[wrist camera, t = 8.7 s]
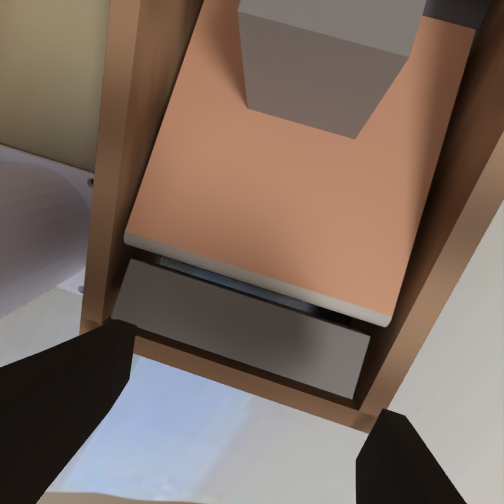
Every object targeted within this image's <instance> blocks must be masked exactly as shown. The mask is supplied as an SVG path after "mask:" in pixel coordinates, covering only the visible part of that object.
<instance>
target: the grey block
mask: <svg viewBox="0 0 504 504" xmlns="http://www.w3.org/2000/svg"><path fill="white" fill-rule="evenodd" d="M426 1H427V0H241V2H240V5H239V7H238V10H237V12H238V22H239V31H240V40H241V50H242V59H243V69H244V78H245V88H246V97H247V107H248V109H251V110H254V111H257V112H261V113H264V114H268V115H271V116H275V117H278V118H282V119H285V120H289V121H292V122H296V123H299V124H303V125H306V126H310V127H313V128H317V129H320V130H324V131H327V132H330V133H334V134H337V135H341V136H344V137H348V138H351V139H356V137H357V136H358V134H359V133H360V131H361V130H362V128H363V127H364V125H365V124H366V122H367V121H368V119H369V118H370V116H371V115H372V113H373V112H374V110H375V109H376V107H377V106H378V104H379V103H380V101H381V100H382V98H383V97H384V95H385V94H386V92H387V91H388V89H389V88H390V86H391V85H392V83H393V82H394V80H395V79H396V77H397V75H398V74H399V72H400V71H401V69H402V68H403V66H404V65H405V63H406V62H407V60H408V59H409V57H410V54H411V51H412V47H413V44H414V41H415V37H416V34H417V31H418V27H419V24H420V21H421V17H422V14H423V11H424V8H425V4H426Z"/></svg>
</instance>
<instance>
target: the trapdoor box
mask: <svg viewBox="0 0 504 504" xmlns="http://www.w3.org/2000/svg"><path fill="white" fill-rule="evenodd" d="M203 2H204V0H111V2H110V12H109V23H108V34H107V44H106V55H105V66H104V76H103V87H102V98H101V108H100V119H99V130H98V140H97V151H96V162H95V172H94V183H93V194H92V204H91V215H90V226H89V236H88V247H87V258H86V268H85V279H84V290H83V300H82V311H81V322H80V332H79V335H82V334H84V333H86V332H89V331H91V330H93V329H95V328H98V327H100V326H102V325H104V324H107V323H109V322H111V321H114V320H115V319H112V318H111V315H112V312H113V309H114V306H115V303H116V300H117V297H118V294H119V292H120V289H121V286H122V283H123V280H124V277H125V274H126V271H127V268H128V265H129V262H130V259H136V260H144V261H150V262H153V263H156V264H160V258H161V255H158V254H155V253H152V252H149V251H146V250H143V249H140V248H137V247H134V246H130V245H127V244H125V243H124V233H125V230H126V227H127V224H128V221H129V218H130V215H131V212H132V209H133V207H134V204H135V201H136V198H137V195H138V192H139V189H140V186H141V183H142V180H143V177H144V174H145V171H146V169H147V166H148V163H149V160H150V157H151V154H152V151H153V148H154V145H155V142H156V139H157V136H158V133H159V131H160V128H161V125H162V122H163V119H164V116H165V113H166V110H167V107H168V104H169V101H170V98H171V96H172V93H173V90H174V87H175V84H176V81H177V78H178V75H179V72H180V69H181V66H182V63H183V60H184V58H185V55H186V52H187V49H188V46H189V43H190V40H191V37H192V34H193V31H194V28H195V25H196V22H197V20H198V17H199V14H200V11H201V8H202V5H203ZM503 200H504V0H493V2H492V5H491V7H490V9H489V11H488V14H487V16H486V18H485V20H484V22H483V25H482V27H481V29H480V31H479V34H478V36H477V38H476V40H475V43H474V45H473V47H472V49H471V52H470V54H469V56H468V58H467V62H466V65H465V69H464V72H463V76H462V79H461V82H460V86H459V89H458V93H457V96H456V100H455V103H454V106H453V110H452V113H451V117H450V120H449V124H448V127H447V130H446V134H445V137H444V141H443V144H442V148H441V151H440V154H439V158H438V161H437V165H436V168H435V172H434V175H433V178H432V182H431V185H430V189H429V192H428V196H427V199H426V202H425V206H424V209H423V213H422V216H421V220H420V223H419V226H418V230H417V233H416V237H415V240H414V244H413V247H412V250H411V254H410V257H409V261H408V264H407V268H406V271H405V274H404V278H403V281H402V285H401V288H400V292H399V295H398V298H397V302H396V305H395V309H394V312H393V316H392V319H391V321H390V323H389V324H388V326H387V327H382V326H379V325H376V324H373V323H370V322H367V321H364V320H360V319H357V318H354V317H352V319H351V321H350V323H349V326H351V327H354V328H357V329H358V330H360V331H362V332H363V333H365V334H367V335H369V336H370V340H369V343H368V347H367V350H366V353H365V357H364V360H363V364H362V367H361V370H360V374H359V377H358V381H357V384H356V387H355V391H354V394H353V398H352V399H349V398H346V397H343V396H340V395H337V394H334V393H331V392H328V391H325V390H322V389H319V388H316V387H313V386H310V385H307V384H304V383H301V382H298V381H296V380H293V379H290V378H287V377H284V376H281V375H278V374H275V373H272V372H269V371H266V370H263V369H260V368H257V367H254V366H251V365H248V364H245V363H242V362H239V361H236V360H233V359H230V358H227V357H224V356H221V355H218V354H215V353H212V352H209V351H207V350H204V349H201V348H198V347H195V346H192V345H189V344H186V343H183V342H180V341H177V340H174V339H171V338H168V337H165V336H162V335H159V334H156V333H153V332H150V331H147V330H144V329H141V328H138V327H137V329H136V336H135V343H134V350H133V353H134V354H137V355H140V356H143V357H146V358H149V359H152V360H155V361H158V362H160V363H163V364H166V365H169V366H172V367H175V368H178V369H181V370H184V371H187V372H190V373H193V374H196V375H198V376H201V377H204V378H207V379H210V380H213V381H216V382H219V383H222V384H225V385H228V386H231V387H234V388H236V389H239V390H242V391H245V392H248V393H251V394H254V395H257V396H260V397H263V398H266V399H269V400H271V401H274V402H277V403H280V404H283V405H286V406H289V407H292V408H295V409H298V410H301V411H304V412H307V413H309V414H312V415H315V416H318V417H321V418H324V419H327V420H330V421H333V422H336V423H339V424H342V425H345V426H347V427H350V428H353V429H356V430H359V431H362V432H365V433H368V434H370V432H371V430H372V428H373V426H374V424H375V422H376V420H377V418H378V416H379V414H380V412H381V410H382V409H383V408H384V409H387V408H388V406H389V404H390V403H391V401H392V399H393V397H394V395H395V394H396V392H397V390H398V388H399V386H400V385H401V383H402V381H403V379H404V377H405V376H406V374H407V372H408V370H409V368H410V367H411V365H412V363H413V361H414V359H415V358H416V356H417V354H418V352H419V350H420V349H421V347H422V345H423V343H424V342H425V340H426V338H427V336H428V334H429V333H430V331H431V329H432V327H433V325H434V324H435V322H436V320H437V318H438V316H439V315H440V313H441V311H442V309H443V307H444V306H445V304H446V302H447V300H448V298H449V297H450V295H451V293H452V291H453V289H454V288H455V286H456V284H457V282H458V280H459V279H460V277H461V275H462V273H463V271H464V270H465V268H466V266H467V264H468V262H469V261H470V259H471V257H472V255H473V253H474V252H475V250H476V248H477V246H478V244H479V243H480V241H481V239H482V237H483V235H484V234H485V232H486V230H487V228H488V227H489V225H490V223H491V221H492V219H493V218H494V216H495V214H496V212H497V210H498V209H499V207H500V205H501V203H502V201H503Z"/></svg>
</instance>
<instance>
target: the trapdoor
mask: <svg viewBox="0 0 504 504" xmlns="http://www.w3.org/2000/svg"><path fill="white" fill-rule="evenodd" d="M240 2H241V0H204V2H203V5H202V8H201V11H200V14H199V17H198V20H197V22H196V25H195V28H194V31H193V34H192V37H191V40H190V43H189V46H188V49H187V52H186V55H185V58H184V60H183V63H182V66H181V69H180V72H179V75H178V78H177V81H176V84H175V87H174V90H173V93H172V96H171V98H170V101H169V104H168V107H167V110H166V113H165V116H164V119H163V122H162V125H161V128H160V131H159V133H158V136H157V139H156V142H155V145H154V148H153V151H152V154H151V157H150V160H149V163H148V166H147V169H146V171H145V174H144V177H143V180H142V183H141V186H140V189H139V192H138V195H137V198H136V201H135V204H134V207H133V209H132V212H131V215H130V218H129V221H128V224H127V227H126V230H125V233H124V243H125V244H127V245H130V246H134V247H137V248H140V249H143V250H146V251H149V252H152V253H155V254H158V255H162V256H165V257H168V258H171V259H174V260H177V261H180V262H183V263H186V264H189V265H193V266H196V267H199V268H202V269H205V270H208V271H211V272H214V273H217V274H221V275H224V276H227V277H230V278H233V279H236V280H239V281H242V282H245V283H249V284H252V285H255V286H258V287H261V288H264V289H267V290H270V291H273V292H277V293H280V294H283V295H286V296H289V297H292V298H295V299H298V300H301V301H304V302H308V303H311V304H314V305H317V306H320V307H323V308H326V309H329V310H332V311H336V312H339V313H342V314H345V315H348V316H351V317H354V318H357V319H360V320H364V321H367V322H370V323H373V324H376V325H379V326H382V327H387V326H388V324H389V323H390V321H391V319H392V316H393V312H394V309H395V305H396V302H397V298H398V295H399V292H400V288H401V285H402V281H403V278H404V274H405V271H406V268H407V264H408V261H409V257H410V254H411V250H412V247H413V244H414V240H415V237H416V233H417V230H418V226H419V223H420V220H421V216H422V213H423V209H424V206H425V202H426V199H427V196H428V192H429V189H430V185H431V182H432V178H433V175H434V172H435V168H436V165H437V161H438V158H439V154H440V151H441V148H442V144H443V141H444V137H445V134H446V130H447V127H448V124H449V120H450V117H451V113H452V110H453V106H454V103H455V100H456V96H457V93H458V89H459V86H460V82H461V79H462V76H463V72H464V69H465V65H466V62H467V58H468V55H469V52H470V48H471V45H472V41H473V38H474V34H475V31H476V29H472V28H468V27H464V26H460V25H457V24H453V23H449V22H445V21H441V20H438V19H434V18H430V17H426V16H422V17H421V21H420V24H419V27H418V31H417V34H416V37H415V41H414V44H413V47H412V51H411V54H410V57H409V59H408V60H407V62H406V63H405V65H404V66H403V68H402V69H401V71H400V72H399V74H398V75H397V77H396V79H395V80H394V82H393V83H392V85H391V86H390V88H389V89H388V91H387V92H386V94H385V95H384V97H383V98H382V100H381V101H380V103H379V104H378V106H377V107H376V109H375V110H374V112H373V113H372V115H371V116H370V118H369V119H368V121H367V122H366V124H365V125H364V127H363V128H362V130H361V131H360V133H359V134H358V136H357V137H356V139H351V138H348V137H344V136H341V135H337V134H334V133H330V132H327V131H324V130H320V129H317V128H313V127H310V126H306V125H303V124H299V123H296V122H292V121H289V120H285V119H282V118H278V117H275V116H271V115H268V114H264V113H261V112H257V111H254V110H251V109H248V107H247V97H246V88H245V78H244V69H243V59H242V50H241V40H240V31H239V22H238V12H237V10H238V7H239V5H240ZM111 318H112V319H115V320H116V319H120V320H123V321H126V322H128V323H131V324H134V325H137V327H138V328H141V329H144V330H147V331H150V332H153V333H156V334H159V335H162V336H165V337H168V338H171V339H174V340H177V341H180V342H183V343H186V344H189V345H192V346H195V347H198V348H201V349H204V350H207V351H209V352H212V353H215V354H218V355H221V356H224V357H227V358H230V359H233V360H236V361H239V362H242V363H245V364H248V365H251V366H254V367H257V368H260V369H263V370H266V371H269V372H272V373H275V374H278V375H281V376H284V377H287V378H290V379H293V380H296V381H298V382H301V383H304V384H307V385H310V386H313V387H316V388H319V389H322V390H325V391H328V392H331V393H334V394H337V395H340V396H343V397H346V398H349V399H352V398H353V394H354V391H355V387H356V384H357V381H358V377H359V374H360V370H361V367H362V364H363V360H364V357H365V353H366V350H367V347H368V343H369V340H370V336H369V335H367V334H365V333H363V332H362V331H360V330H358V329H357V328H354V327H351V326H347V325H344V324H341V323H338V322H335V321H332V320H329V319H326V318H323V317H320V316H317V315H313V314H310V313H307V312H304V311H301V310H298V309H295V308H292V307H289V306H286V305H283V304H279V303H276V302H273V301H270V300H267V299H264V298H261V297H258V296H255V295H252V294H249V293H245V292H242V291H239V290H236V289H233V288H230V287H227V286H224V285H221V284H218V283H215V282H211V281H208V280H205V279H202V278H199V277H196V276H193V275H190V274H187V273H184V272H181V271H177V270H174V269H171V268H168V267H165V266H162V265H159V264H156V263H153V262H150V261H144V260H136V259H130V262H129V265H128V268H127V271H126V274H125V277H124V280H123V283H122V286H121V289H120V292H119V294H118V297H117V300H116V303H115V306H114V309H113V312H112V315H111Z"/></svg>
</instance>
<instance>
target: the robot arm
mask: <svg viewBox="0 0 504 504" xmlns="http://www.w3.org/2000/svg"><path fill="white" fill-rule="evenodd" d="M92 179H94V173H92V172H88V171H85V170H82V169H79V168H76V167H72V166H69V165H66V164H63V163H59V162H56V161H53V160H50V159H47V158H43V157H40V156H37V155H34V154H30V153H27V152H24V151H21V150H17V149H14V148H11V147H8V146H5V145H1V144H0V319H1V318H3V317H4V316H6V315H8V314H10V313H11V312H13V311H15V310H16V309H18V308H20V307H22V306H23V305H25V304H27V303H28V302H30V301H32V300H33V299H35V298H37V297H39V296H40V295H42V294H44V293H45V292H47V291H49V290H50V289H52V288H54V287H57V288H60V289H63V290H66V291H69V292H72V293H75V294H78V295H81V296H83V290H84V289H83V288H82V286H83V287H84V279H85V268H86V258H87V247H88V236H89V226H90V215H91V204H92V194H93V185H92V182H91V181H92ZM136 329H137V325H134V324H131V323H128V322H126V321H123V320H120V319H116V320H114V321H111V322H109V323H107V324H104V325H102V326H100V327H98V328H95V329H93V330H91V331H89V332H86V333H84V334H82V335H79V336H77V337H75V338H73V339H70V340H68V341H66V342H63V343H61V344H59V345H56V346H54V347H51V348H49V349H47V350H44V351H42V352H39V353H37V354H34V355H32V356H29V357H26V358H24V359H21V360H19V361H16V362H13V363H11V364H8V365H5V366H3V367H0V504H36V503H37V501H38V500H39V499H40V497H41V496H42V495H43V494H44V492H45V491H46V490H47V488H48V487H49V486H50V485H51V483H52V482H53V481H54V480H55V478H56V477H57V476H58V475H59V473H60V472H61V471H62V470H63V468H64V467H65V466H66V465H67V463H68V462H69V461H70V460H71V459H72V457H73V456H74V455H75V454H76V452H77V451H78V450H79V449H80V447H81V446H82V445H83V444H84V442H85V441H86V440H87V439H88V437H89V436H90V435H91V434H92V432H93V431H94V430H95V429H96V427H97V426H98V425H99V424H100V422H101V421H102V420H103V419H104V417H105V416H106V415H107V414H108V412H109V411H110V409H111V408H112V406H113V405H114V403H115V402H116V400H117V399H118V397H119V395H120V394H121V392H122V391H123V389H124V387H125V386H126V384H127V383H128V381H129V378H130V371H131V364H132V357H133V350H134V343H135V336H136ZM356 504H467V503H466V502H465V501H464V499H463V498H462V496H461V495H460V494H459V492H458V491H457V489H456V488H455V486H454V485H453V484H452V482H451V481H450V479H449V478H448V476H447V475H446V474H445V472H444V471H443V469H442V468H441V466H440V465H439V463H438V462H437V461H436V459H435V458H434V456H433V455H432V453H431V452H430V450H429V449H428V447H427V446H426V444H425V443H424V442H423V440H422V439H421V437H420V436H419V434H418V433H417V431H416V430H415V428H414V427H413V426H412V424H411V423H410V422H409V420H408V419H407V417H406V416H404V415H402V414H399V413H396V412H393V411H390V410H387V409H384V408H383V409H382V410H381V412H380V414H379V416H378V418H377V420H376V422H375V424H374V426H373V428H372V430H371V432H370V434H369V435H368V437H367V439H366V441H365V443H364V445H363V447H362V449H361V451H360V453H359V455H358V457H357V459H356Z"/></svg>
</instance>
